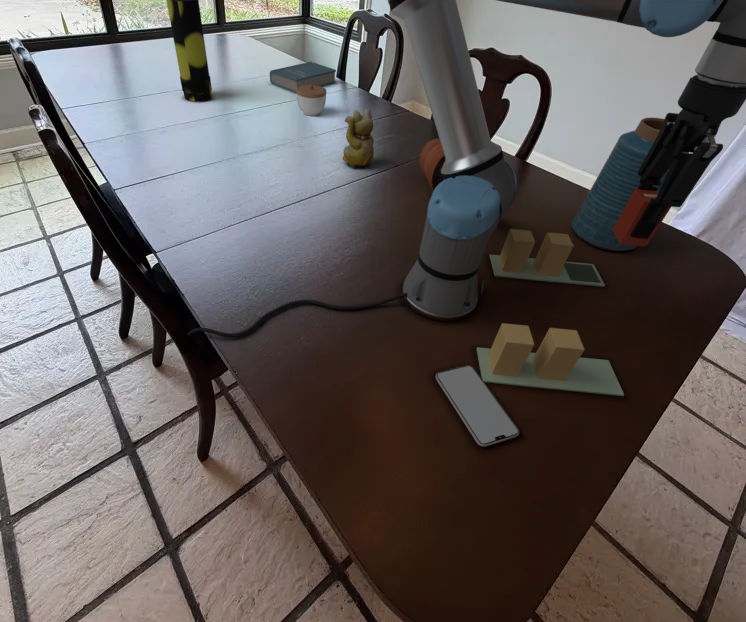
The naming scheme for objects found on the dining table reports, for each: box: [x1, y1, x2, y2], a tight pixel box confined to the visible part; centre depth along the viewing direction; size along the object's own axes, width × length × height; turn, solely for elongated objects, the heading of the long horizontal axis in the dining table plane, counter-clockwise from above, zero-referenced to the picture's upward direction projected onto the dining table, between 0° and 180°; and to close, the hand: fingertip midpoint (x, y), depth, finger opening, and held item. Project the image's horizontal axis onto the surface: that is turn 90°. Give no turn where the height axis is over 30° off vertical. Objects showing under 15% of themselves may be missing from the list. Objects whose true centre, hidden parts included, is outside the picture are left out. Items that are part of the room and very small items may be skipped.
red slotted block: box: [612, 189, 672, 247], centre depth 75 cm, size 4×4×8 cm
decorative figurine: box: [342, 108, 375, 169], centre depth 128 cm, size 10×8×15 cm
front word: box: [476, 322, 625, 397], centre depth 75 cm, size 24×8×8 cm, turn 85°
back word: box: [489, 228, 606, 288], centre depth 96 cm, size 24×8×8 cm, turn 85°
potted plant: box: [418, 137, 445, 192], centre depth 113 cm, size 16×15×35 cm
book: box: [269, 61, 337, 95], centre depth 183 cm, size 23×16×5 cm
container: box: [166, 0, 213, 103], centre depth 156 cm, size 11×11×30 cm
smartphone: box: [435, 364, 520, 448], centre depth 71 cm, size 7×1×15 cm
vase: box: [571, 117, 690, 252], centre depth 102 cm, size 16×16×27 cm
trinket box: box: [296, 84, 327, 117], centre depth 158 cm, size 11×11×9 cm
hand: (634, 228), depth 77 cm, fingers closed on red slotted block, 4 cm apart
